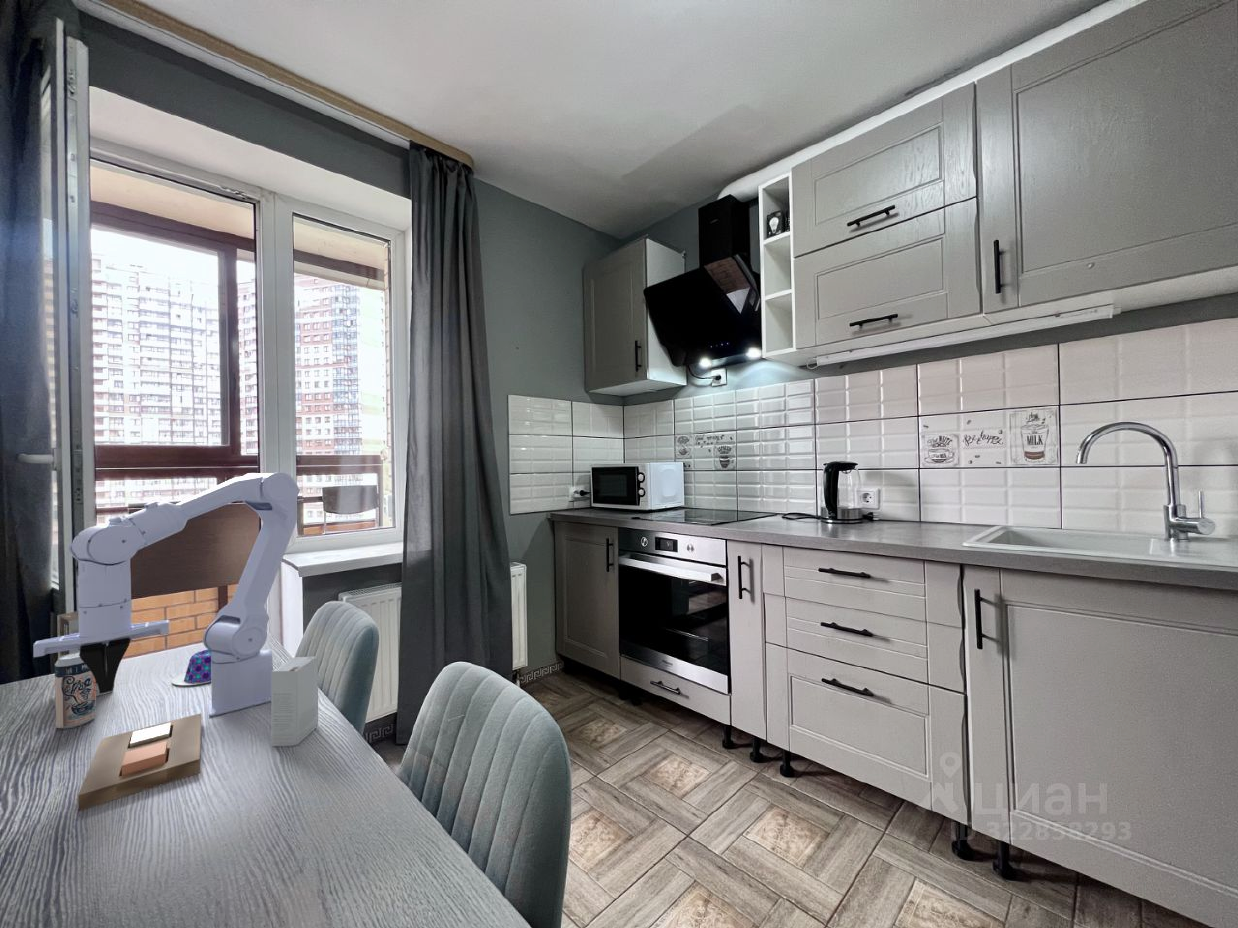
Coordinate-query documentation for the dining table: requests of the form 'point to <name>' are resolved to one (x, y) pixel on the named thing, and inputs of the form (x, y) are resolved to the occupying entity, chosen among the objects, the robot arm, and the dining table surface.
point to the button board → (107, 769)
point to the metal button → (150, 735)
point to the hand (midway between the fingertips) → (106, 690)
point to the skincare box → (294, 701)
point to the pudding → (196, 669)
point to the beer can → (74, 692)
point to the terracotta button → (144, 758)
